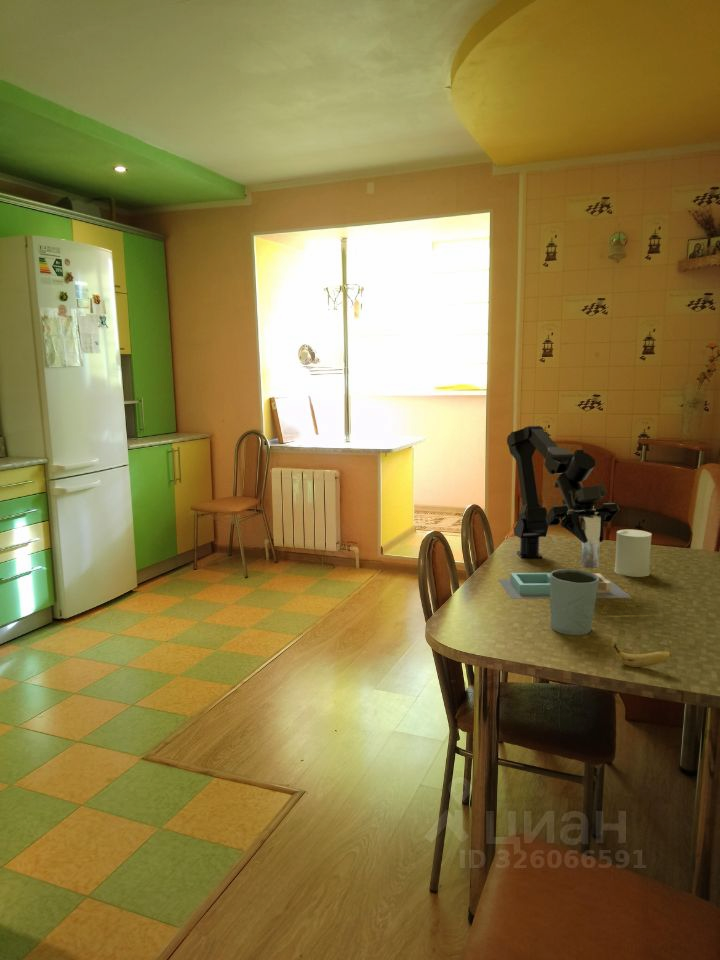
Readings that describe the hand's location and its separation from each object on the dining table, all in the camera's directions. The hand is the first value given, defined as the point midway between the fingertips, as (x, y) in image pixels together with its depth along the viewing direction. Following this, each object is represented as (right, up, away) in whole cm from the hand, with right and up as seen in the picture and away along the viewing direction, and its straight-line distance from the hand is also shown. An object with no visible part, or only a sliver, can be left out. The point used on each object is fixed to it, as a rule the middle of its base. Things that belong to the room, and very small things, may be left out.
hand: (593, 541), depth 169 cm
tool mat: (-7, -13, +3) cm, 15 cm away
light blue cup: (-13, -17, -24) cm, 32 cm away
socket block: (0, -12, +3) cm, 13 cm away
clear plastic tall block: (0, -6, +2) cm, 7 cm away
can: (+17, -11, +17) cm, 26 cm away
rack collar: (-14, -12, +3) cm, 19 cm away
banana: (-6, -20, -44) cm, 49 cm away
